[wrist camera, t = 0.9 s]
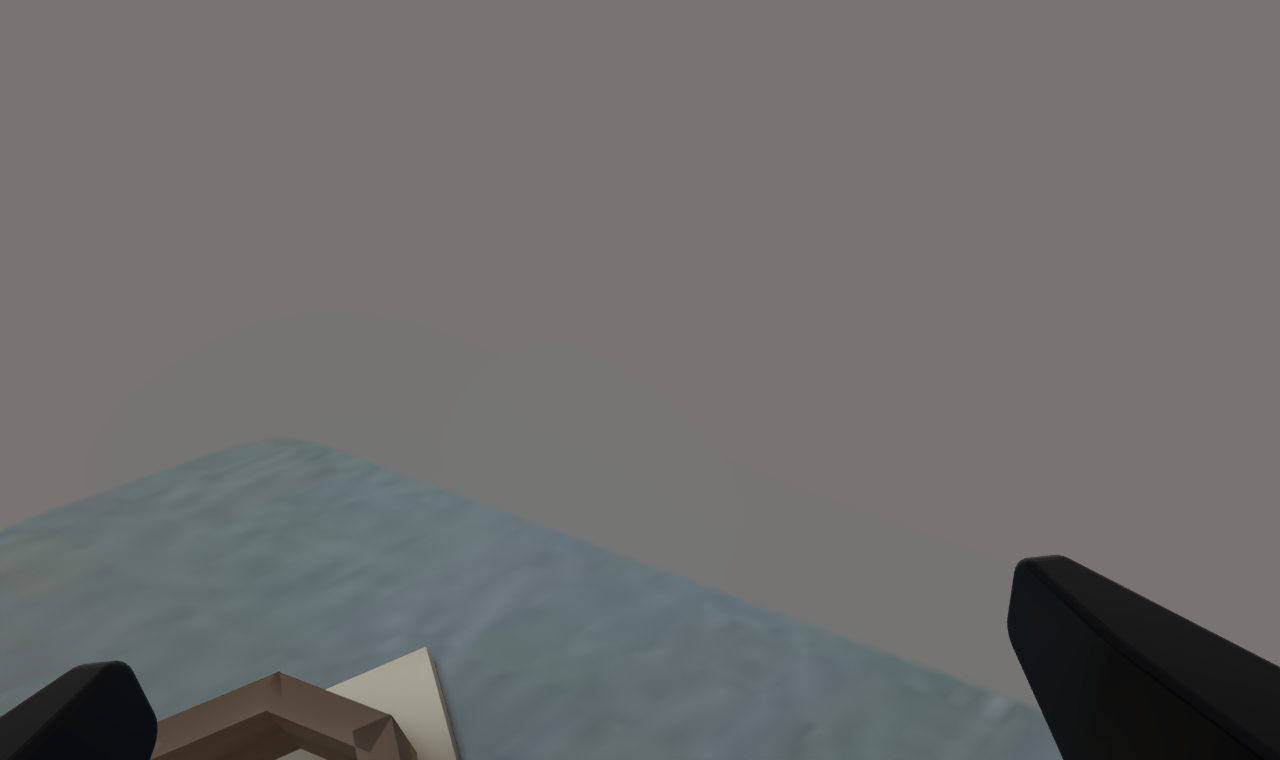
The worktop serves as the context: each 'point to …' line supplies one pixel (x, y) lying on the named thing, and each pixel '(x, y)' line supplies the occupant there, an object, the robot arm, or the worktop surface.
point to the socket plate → (407, 702)
